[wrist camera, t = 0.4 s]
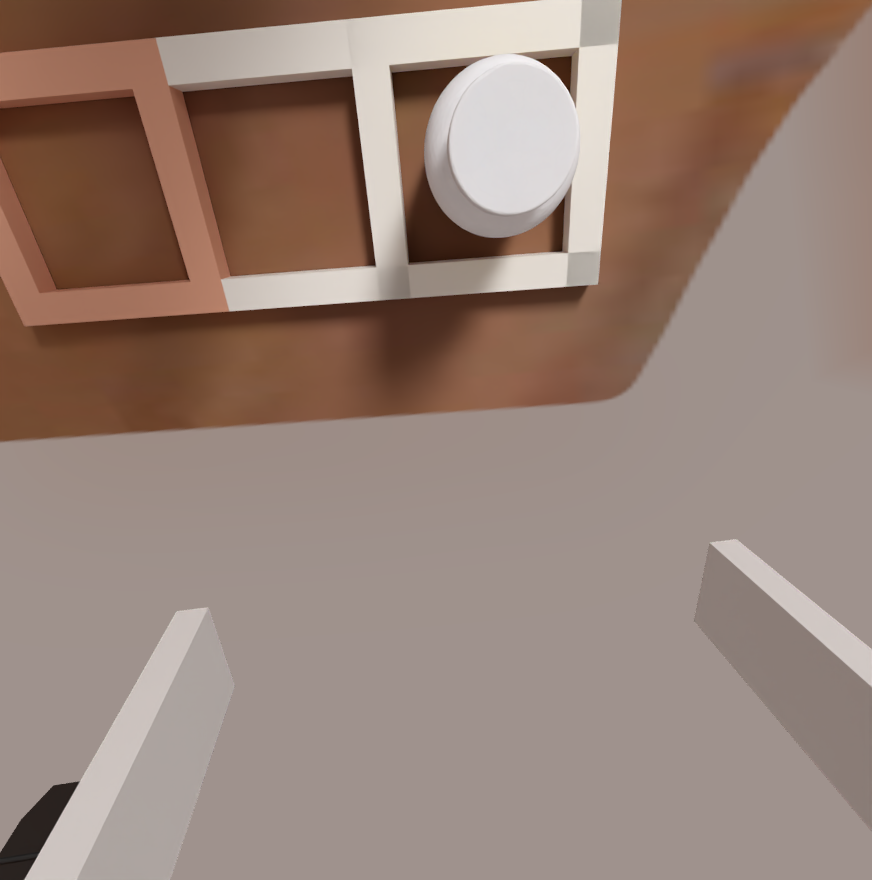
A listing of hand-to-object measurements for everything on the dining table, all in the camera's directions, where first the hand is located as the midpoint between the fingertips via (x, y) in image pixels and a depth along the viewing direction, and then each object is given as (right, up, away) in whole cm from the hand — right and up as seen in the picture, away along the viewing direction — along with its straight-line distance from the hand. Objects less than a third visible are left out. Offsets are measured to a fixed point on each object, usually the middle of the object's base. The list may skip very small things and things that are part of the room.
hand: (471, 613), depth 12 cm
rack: (-10, +20, +16) cm, 28 cm away
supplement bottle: (+2, +21, +16) cm, 26 cm away
